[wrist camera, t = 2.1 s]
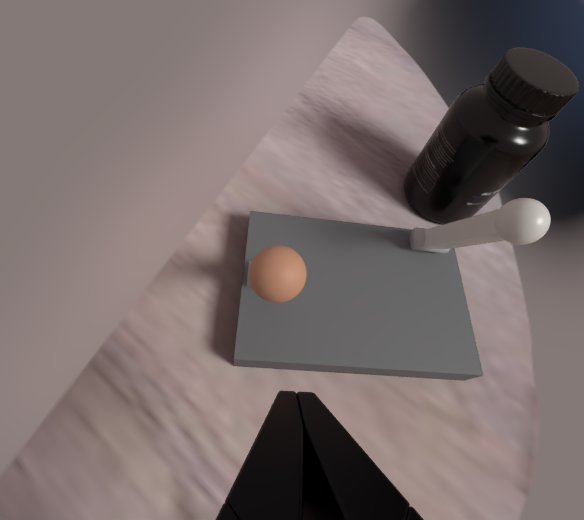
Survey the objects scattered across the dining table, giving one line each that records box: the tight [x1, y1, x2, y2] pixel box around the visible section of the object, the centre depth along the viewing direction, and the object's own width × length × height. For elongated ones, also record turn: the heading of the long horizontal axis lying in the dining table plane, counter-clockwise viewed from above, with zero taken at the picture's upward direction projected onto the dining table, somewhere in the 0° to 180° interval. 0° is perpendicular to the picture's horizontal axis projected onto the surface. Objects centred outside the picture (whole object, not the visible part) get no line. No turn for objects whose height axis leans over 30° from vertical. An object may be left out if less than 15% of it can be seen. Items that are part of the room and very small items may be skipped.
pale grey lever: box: [409, 198, 550, 253], centre depth 20 cm, size 2×2×10 cm
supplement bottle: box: [404, 47, 579, 224], centre depth 26 cm, size 7×7×12 cm
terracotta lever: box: [246, 245, 307, 303], centre depth 17 cm, size 2×2×10 cm
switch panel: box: [234, 211, 483, 380], centre depth 24 cm, size 10×16×2 cm
